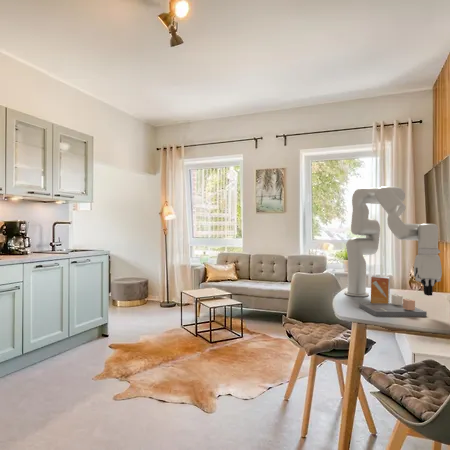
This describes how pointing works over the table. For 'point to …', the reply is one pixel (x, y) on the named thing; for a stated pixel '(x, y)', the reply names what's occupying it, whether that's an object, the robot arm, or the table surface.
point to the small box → (380, 289)
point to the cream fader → (397, 299)
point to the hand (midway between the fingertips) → (428, 294)
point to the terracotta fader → (408, 304)
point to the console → (390, 310)
